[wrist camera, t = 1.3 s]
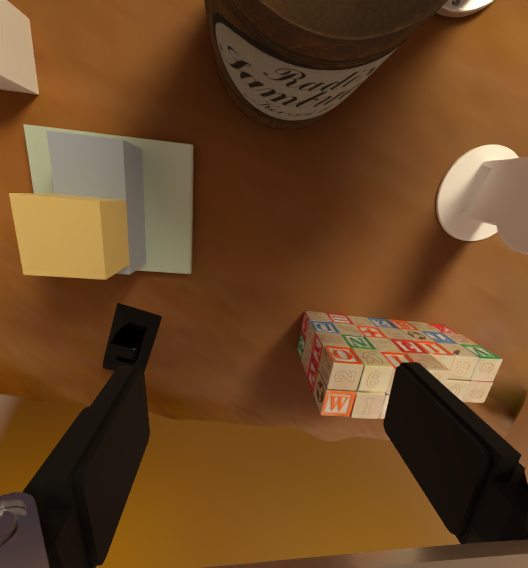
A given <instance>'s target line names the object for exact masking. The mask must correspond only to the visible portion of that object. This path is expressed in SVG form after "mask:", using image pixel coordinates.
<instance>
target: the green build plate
mask: <svg viewBox="0 0 528 568" xmlns="http://www.w3.org/2000/svg"><path fill="white" fill-rule="evenodd" d="M46 130H47V131H55V132H64V133H72V134H81V135H89V136H98V137H106V138H115V139H123V140H125V141H127V142H129V143H131V144H133V145H135V146H137V147H139V148H141V149H142V154H143V182H144V210H145V238H146V263H145V264H144V265H143V266H141V267H140V268H139V269H137V271H152V272H167V273H183V274H191V272H192V237H193V174H194V146H193V145H192V144H184V143H175V142H167V141H159V140H150V139H142V138H134V137H125V136H117V135H109V134H100V133H92V132H84V131H75V130H67V129H59V128H50V127H42V126H34V125H25V124H24V131H25V138H26V144H27V151H28V157H29V164H30V171H31V177H32V184H33V190H34V194H55V193H54V186H53V178H52V170H51V163H50V155H49V147H48V139H47V132H46Z"/></svg>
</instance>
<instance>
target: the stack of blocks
mask: <svg viewBox="0 0 528 568" xmlns="http://www.w3.org/2000/svg"><path fill="white" fill-rule="evenodd" d="M297 351H298V354H299V357H300V360H301V362H302V364H303V367H304V370H305V373H306V375H307V379H308V382H309V385H310V388H311V391H312V393H313V394H314V397H315V400H316V403H317V406H318V408H319V411H320V414H321V415H329V416H351V417H352V418H373V419H377V418H381V419H384V418H385V413H386V409H387V405H388V400H389V396H390V391H391V387H392V383H393V378H394V374H395V370H396V367H398V366H399V365H400V364H401V363H402V362H418V363H420V364H421V365H422V366H423V367H424V368H426V369H427V370H428V371H429V372H430V373H431V374H432V375H433V376H434V377H435V378H437V379H438V380H439V381H440V382H441V383H442V384H443V385H444V386H445V387H447V388H448V389H449V390H450V391H451V392H452V393H453V394H454V395H455V396H457V397H458V398H459V399H460V400H461V401H462V402H478V403H483V402H484V401H485V399H486V396H487V394H488V392H489V390H490V388H491V386H492V384H493V382H492V381H493V380H494V378H495V376H496V373H497V371H498V369H499V367H500V364H501V362H502V360H503V359H501V358H500V357H498V356H497V355H495V354H494V353H492V352H490V351H489V350H487V349H485V348H484V347H482V346H478V345H477V344H475V343H474V342H472V341H471V340H469V339H467V338H466V337H464V336H462V335H460V334H458V333H457V332H455V331H454V330H452V329H450V328H449V327H447V326H445V325H438V324H426V323H422V322H412V321H402V320H393V319H387V320H386V319H378V318H365V317H356V316H346V315H341V314H331V313H322V312H313V311H304V316H303V321H302V326H301V333H300V338H299V342H298V347H297Z"/></svg>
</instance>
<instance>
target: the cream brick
mask: <svg viewBox="0 0 528 568" xmlns="http://www.w3.org/2000/svg"><path fill="white" fill-rule="evenodd" d="M0 89H1V90H8V91H15V92H23V93H30V94H37V95H39V92H38V84H37V76H36V69H35V61H34V53H33V45H32V38H31V30H30V22H29V19H28V18H27V17H26V16H25V15H24V14H23V13H21V12H20V11H19V10H18V9H17V8H15V7H14V6H13V5H12V4H11V3H10V2H8V1H7V0H0Z"/></svg>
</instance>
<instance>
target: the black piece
mask: <svg viewBox="0 0 528 568" xmlns="http://www.w3.org/2000/svg"><path fill="white" fill-rule="evenodd" d="M161 319H162V317H161V316H159V315H156V314H153V313H149V312H146V311H143V310H139V309H136V308H133V307H130V306H126V305H123V304H120V303H118V304H117V307H116V311H115V315H114V319H113V324H112V328H111V332H110V336H109V340H108V344H107V348H106V352H105V356H104V360H103V368H105V369H109V370H113V371H115V370H116V369H117V368H118V367H119V366H134V365H137V366H138V368H139V370H143V371H145V368H146V365H147V362H148V359H149V356H150V353H151V349H152V346H153V343H154V340H155V337H156V334H157V331H158V328H159V325H160V322H161Z"/></svg>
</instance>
